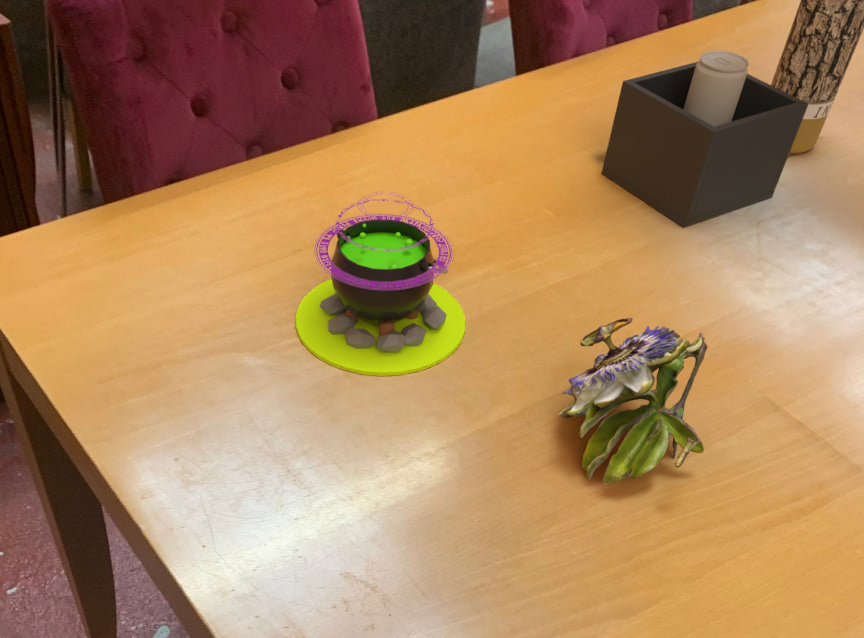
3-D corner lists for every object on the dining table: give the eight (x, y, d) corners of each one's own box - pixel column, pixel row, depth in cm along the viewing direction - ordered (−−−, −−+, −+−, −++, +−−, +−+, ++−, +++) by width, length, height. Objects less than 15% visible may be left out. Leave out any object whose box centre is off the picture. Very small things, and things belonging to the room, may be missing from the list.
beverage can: (690, 194, 92) (728, 74, 83) (654, 175, 95) (688, 57, 86) (720, 180, 94) (761, 62, 85) (684, 162, 97) (720, 46, 88)
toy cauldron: (496, 309, 80) (514, 194, 72) (407, 399, 71) (417, 281, 63) (357, 255, 85) (359, 143, 77) (260, 333, 77) (251, 217, 69)
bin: (687, 147, 101) (714, 57, 94) (772, 197, 94) (809, 103, 86) (601, 173, 97) (622, 80, 89) (683, 227, 89) (714, 131, 82)
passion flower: (572, 460, 75) (607, 317, 72) (705, 494, 69) (748, 340, 67) (525, 468, 65) (563, 302, 62) (675, 508, 60) (724, 329, 57)
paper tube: (751, 150, 101) (845, -113, 82) (753, 124, 105) (843, -131, 86) (814, 160, 99) (925, -105, 80) (814, 134, 103) (919, -124, 85)
